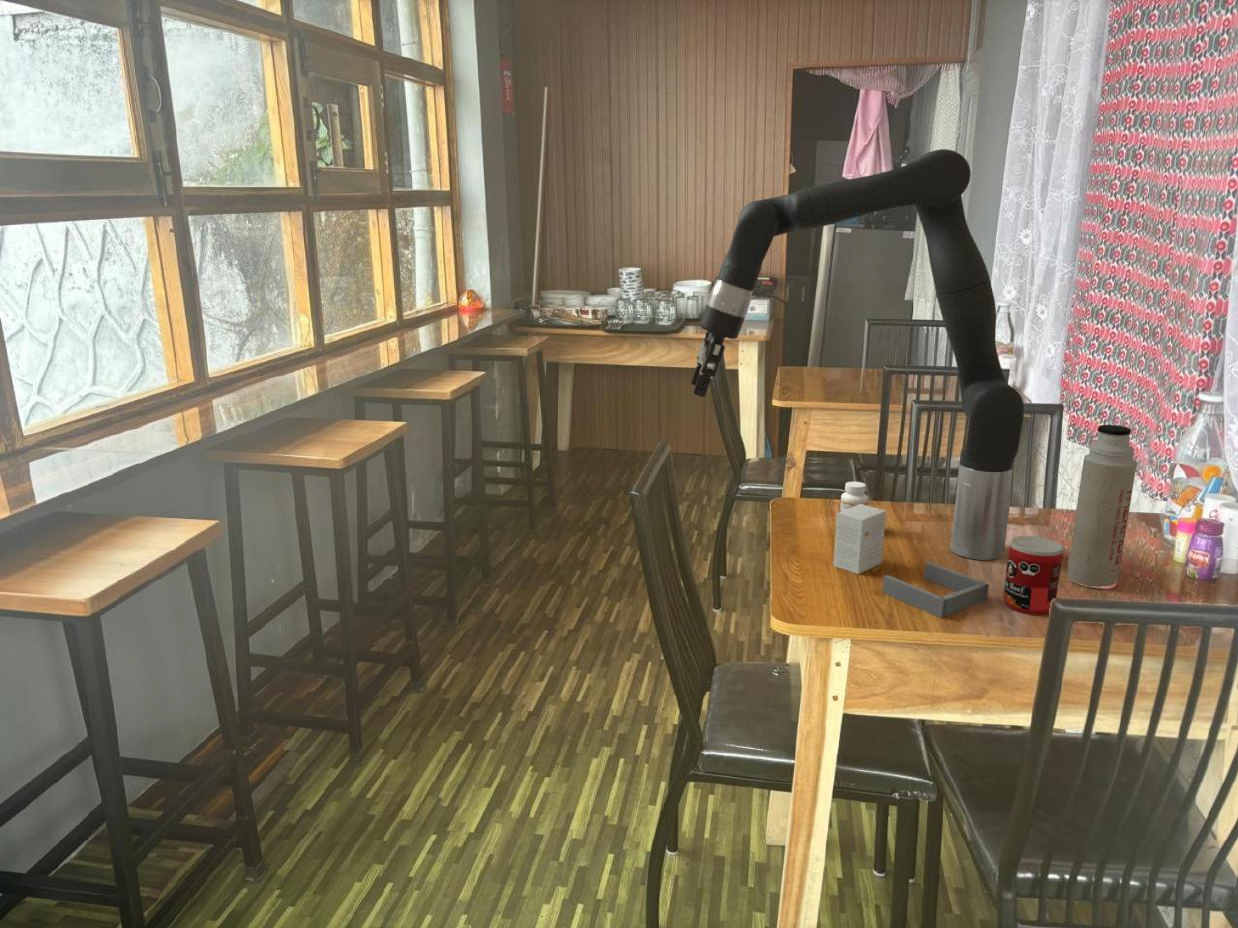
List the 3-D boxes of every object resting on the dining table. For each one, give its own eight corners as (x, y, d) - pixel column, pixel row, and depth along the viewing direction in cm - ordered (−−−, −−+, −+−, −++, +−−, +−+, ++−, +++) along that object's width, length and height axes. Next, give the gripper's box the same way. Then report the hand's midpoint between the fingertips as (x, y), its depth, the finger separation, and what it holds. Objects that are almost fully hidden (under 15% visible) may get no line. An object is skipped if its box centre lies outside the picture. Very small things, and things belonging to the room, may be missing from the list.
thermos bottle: (1126, 584, 158) (1152, 429, 150) (1097, 593, 154) (1122, 434, 147) (1085, 568, 165) (1108, 419, 157) (1056, 576, 161) (1078, 424, 154)
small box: (856, 555, 171) (860, 503, 168) (882, 563, 167) (887, 510, 164) (832, 566, 166) (835, 512, 163) (858, 575, 162) (862, 519, 159)
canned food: (993, 597, 153) (1001, 536, 150) (1038, 595, 154) (1047, 534, 151) (1016, 616, 146) (1025, 553, 143) (1064, 614, 146) (1073, 551, 143)
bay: (927, 577, 161) (929, 561, 160) (986, 600, 151) (988, 584, 151) (882, 592, 155) (883, 576, 154) (941, 617, 145) (942, 600, 144)
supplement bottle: (863, 525, 188) (867, 480, 185) (867, 534, 182) (871, 488, 180) (837, 524, 188) (840, 479, 185) (840, 533, 183) (844, 487, 180)
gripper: (750, 320, 160) (718, 405, 164) (741, 309, 173) (713, 388, 178) (710, 307, 159) (679, 392, 164) (704, 297, 173) (677, 376, 177)
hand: (697, 390), depth 171 cm, fingers open, 8 cm apart
